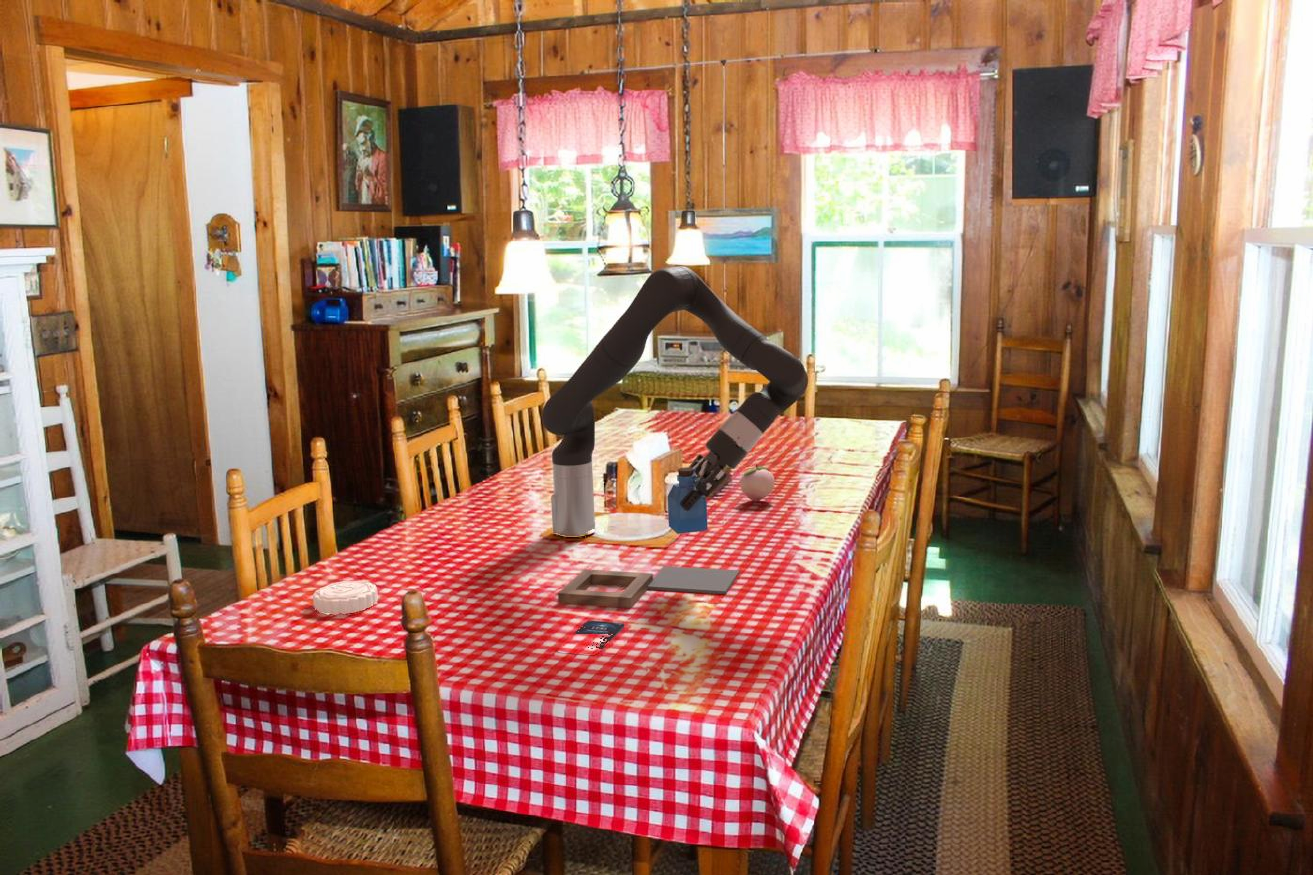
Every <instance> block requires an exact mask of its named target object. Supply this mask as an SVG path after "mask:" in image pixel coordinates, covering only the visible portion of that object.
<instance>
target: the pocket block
mask: <svg viewBox="0 0 1313 875" xmlns="http://www.w3.org/2000/svg"><path fill="white" fill-rule="evenodd" d="M653 578H654V574H653V573H649V572H633V571H632V572H630V571H617V570H615V571H613V570H599V569H598V570H597V569H583V570H581V572H580V573H578V574H577V575H576V576H575V577H574V578H573V579H571V580H570V581H569V582H568V583H567V584H566V585H565V586H564V587H563V588H562V589H561V590H559V592H557V599H558V601H557V602H558V604H567V605H568V604H569V605H580V604H583V606H595V605H596V606H599V607H612V608H614V607H615V608H625V609H626V608H627V609H629V608H630V609H631V608H634V607H633V606H635V604H637V602H638V601H639V600H640V599H641V598H642V597H643V595H644V594H645V593H646V592H647V591H648V590H649V589H648V585H649V584H650V583H651V582H652V581H653ZM592 584H593V585H608V586H609V585H611V586H624V587H625V586H626V588H625V589H624V590H623V591H620V592H617V591H601V590H590V589H589V590H587V589H588V588H589V587H590V586H591V585H592Z"/></svg>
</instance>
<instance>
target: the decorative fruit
mask: <svg viewBox="0 0 1313 875" xmlns="http://www.w3.org/2000/svg"><path fill="white" fill-rule="evenodd" d="M739 487H740V490H741V492H742V494H744V495H745V496H746V497H747V498H748V499H750V500H751V501H752V502H755V503H759V502H760V501H761V500H763V499H765V498H767V497H768V496H769V495H770V494H772V492H773V491H774V489H775V477H774V475H773V473H772V472H770V470H769V468H768V467H766V466H758V464H757V463H756V464H755V468H749V469H746V470H745V471H744V473H743V474H742V475H741V477H740V479H739Z"/></svg>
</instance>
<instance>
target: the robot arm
mask: <svg viewBox="0 0 1313 875" xmlns="http://www.w3.org/2000/svg"><path fill="white" fill-rule="evenodd" d="M680 311H686V312H688V313H690V314H692V315H694V316H695V317H697V318H698V319H699V320H701V321H702V322H703V323H704V324H706V326H707V327H708V328H709V329H710V331H711V332H712V334H713V335H714V337H715V339H716V340H717V341H718V343H719V344H720V345H721V346H722V348H723V349H724V350H725V351H726V352H727V353H729V354H730V355H731V356H732V357H733V358H735V359H736V360H738V361H739V362H740V364H742V365H744V366H745V367H747V368H748V369H749V370H753V371H756V372H757V373H759V374H760V375H761V376H763V378H765V379H767V381H769V382H768V383H767V384H766V385H765V386H764V387H763V388H762V389H761V390H760V391H756V392H752V393H751V394H750V395H749V396H748V397H747V398H746V399H745V400H744V401H743V402H742V404H740V406H738V408H737V410H736V411H734V412H733V414H731V415H730V416H729V417H728V418H727V419H725V421H724V422H723V424H722V425H721V426H720V427H719V428H718V429H717V430H716V432H714V434H713V435H712V436H711V437H710V439H708V440H707V441H706V443H705V448H706V449H707V450H708V451H709V452H708V453H707V454H706V455H705V456H703V455H702V454H701V453H700V454H698V455H697V456H696V457H695V458H694V460H693V461H692V462H691V464H690V465H689V466H688V467H689V468H693V469H694V470H693V474H694V475H695V480H694V481H693V483H694V484H695V485H694V487H693V489H692V490H693V491H692V490H691V491H690V492H689V493H688V494H687V495H686V496H685V498H684V499H683V500H682V501H681V502H680V505H681V506H682V507H683V508H684V509H685V510H686V511H689V510H690V509H691V508H692V506H693V505H694V504H695V503H696V502H697V501H698V500H699V498H700V497H701V498H702V497H704V496H705V498H707V497H710V495H711V494H712V493H713V492H714V491H715V490H716V489H717V487H718V486H719V485H720V484H721V483H722V482H723V481H724V480H725V479H726V478H727V477H728V474H727V472H725V471H724V469H725V468H726V467H728V468H729V469H731V470H735V469H736V468H737V467H738V465H739V464H740V463H741V462H742V461H743V460H744V459H745V458H746V456H747V455H748V454H749V453H750V452H751V450H752V449H753V448H754V447H755V446H756V445H757V443H758V442H759V440H760V438H761V437H762V436H763V434H764V433H765V432H766V431H767V430H768V429H769V428H770V426H771V425H773V423H774V422H775V421H776V419H778V417H779V416H780V415H782V414H783V413H785V412H786V411H787V410H788V409H790V407H792V406H793V405H794V404H795V403H796V402H797V401H798V400H799V399H800V398H801V397H802V395H804V393H805V392H806V390H807V387H808V384H809V376H808V373H807V371H806V369H805V366H804V364H803V362H802V361H801V360H800V359H798V357H796V356H795V355H794V354H793V353H791V352H790V351H788V350H787V349H785V348H783V347H781V346H780V345H777V344H776V343H774V342H772V341H771V340H770V339H769V338H767V337H766V336H765V335H763V333H761V332H760V331H758V330H757V329H756V328H754V327H753V326H752V325H751V324H749V323H748V322H746V321H745V320H744V319H743V318H742V317H740V316H739V315H738V314H736V313H735V312H734V311H733V310H732V309H731V308H730V307H729V306H728V305H727V304H725V303H724V301H723V300H722V299H720V298H719V296H718V295H717V294H716V293H715V292H714V291H713V290H712V289H711V288H710V287H709V286H708V285H707V284H706V282H705V281H704V280H703V279H702V278H701V277H700V276H699V275H698V274H697V273H696V272H695V271H694V270H692V269H690V268H689V267H687V266H684V265H676V266H670V267H669V266H668V267H661V268H660V269H656V270H655V271H654V272H652V273H651V274H649V276H648V277H647V279H646V280H645V281H644V283H643V284H642V286H641V287H640V289H639V291H638V292H637V293H636V295H635V297H634V299H633V300H632V301H631V303H630V305H629V306H628V307H627V309H626V310H625V312H623V313H622V315H621V316H620V317H619V318H618V319H617V321H616V322H615V323H614V324H613V325H612V327H611V328H610V329H609V330H608V331H607V332H606V333H605V334H604V336H603V337H602V338H601V340H599V342H598V343H597V344H596V345H595V347H594V348H593V349H592V350H591V352H590V354H589V355H588V356H587V357H586V358H585V360H584V361H583V362H582V363H581V364H580V365H579V366H578V368H577V370H576V371H575V372H574V373H573V375H571V377H570V378H569V379H568V380H567V381H566V382H565V383H564V384H563V385H562V386H561V387H560V388H558V390H556V391H555V392H554V393H553V394H552V395H551V396H550V397H549V398H548V400H546V402H545V404H544V405H543V408H542V413H541V421H542V425H543V427H544V429H545V430H546V431H547V432H548V433H551V434H552V435H555V436H562V439H561V442H560V443H559V444H558V445H557V446H556V447H555V448H554V449H553V450H552V453H551V460H552V461H551V462H552V476H553V477H552V479H553V494H551V496H550V501H551V503H550V505H551V506H550V507H551V522H552V534H553V533H558V534H560V535H565V536H580V535H584V534H586V532H588V531H590V530H592V529H595V530H596V521H595V520H596V518H595V514H596V513H595V496H594V492H595V491H594V474H593V473H594V472H593V452H594V449H595V444H596V442H595V440H596V438H595V437H596V435H595V434H596V429H595V428H596V427H595V426H596V422H595V421H596V417H595V416H596V415H595V409H594V408H595V407H594V404H593V402H592V401H594V400H595V399H596V398H597V397H599V396H600V395H602V394H604V393H606V392H607V391H608V390H609V389H611V388H612V387H614V386H615V385H617V384H618V383H620V382H621V381H622V380H623V379H624V378H625V377H627V375H628V374H629V373H630V372H631V371H632V369H633V368H634V367H635V365H637V363H638V362H639V361H640V360H641V358H642V356H643V354H644V352H645V348H646V344H647V340H648V338H649V336H650V335H651V333H652V331H653V330H654V329H655V328H656V327H657V326H658V325H659V324H660V323H661V322H662V321H663V320H664V319H665V318H666V317H667V316H668V315H670V314H672V313H676V312H680Z"/></svg>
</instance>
